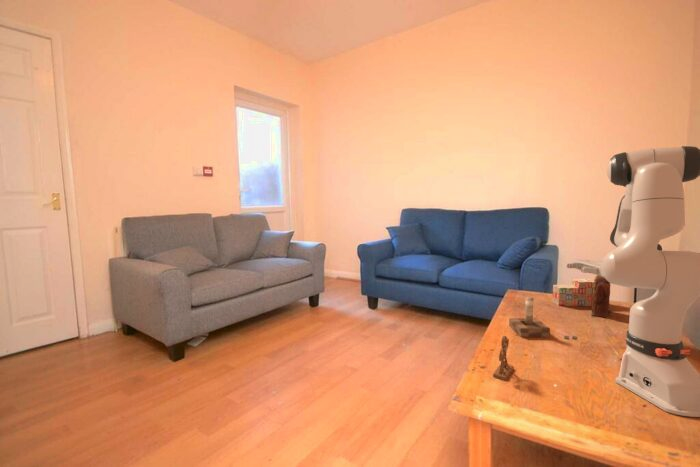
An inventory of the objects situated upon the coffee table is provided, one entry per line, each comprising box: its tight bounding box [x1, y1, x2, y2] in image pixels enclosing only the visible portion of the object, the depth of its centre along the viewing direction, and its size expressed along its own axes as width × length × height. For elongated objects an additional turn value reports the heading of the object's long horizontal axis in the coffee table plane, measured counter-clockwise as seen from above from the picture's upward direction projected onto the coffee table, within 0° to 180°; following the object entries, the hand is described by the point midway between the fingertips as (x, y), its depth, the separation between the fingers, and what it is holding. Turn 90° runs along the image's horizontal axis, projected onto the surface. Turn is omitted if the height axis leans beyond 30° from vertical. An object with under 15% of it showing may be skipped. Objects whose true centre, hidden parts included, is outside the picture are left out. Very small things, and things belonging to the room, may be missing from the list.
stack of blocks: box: [552, 278, 595, 307], centre depth 166 cm, size 21×6×12 cm, turn 85°
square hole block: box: [508, 317, 551, 338], centre depth 135 cm, size 11×11×4 cm
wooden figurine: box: [591, 275, 611, 318], centre depth 152 cm, size 12×6×18 cm, turn 143°
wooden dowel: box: [524, 296, 534, 325], centre depth 135 cm, size 3×3×14 cm
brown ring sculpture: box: [492, 335, 515, 382], centre depth 104 cm, size 9×4×12 cm, turn 140°
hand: (574, 267), depth 131 cm, fingers open, 8 cm apart
